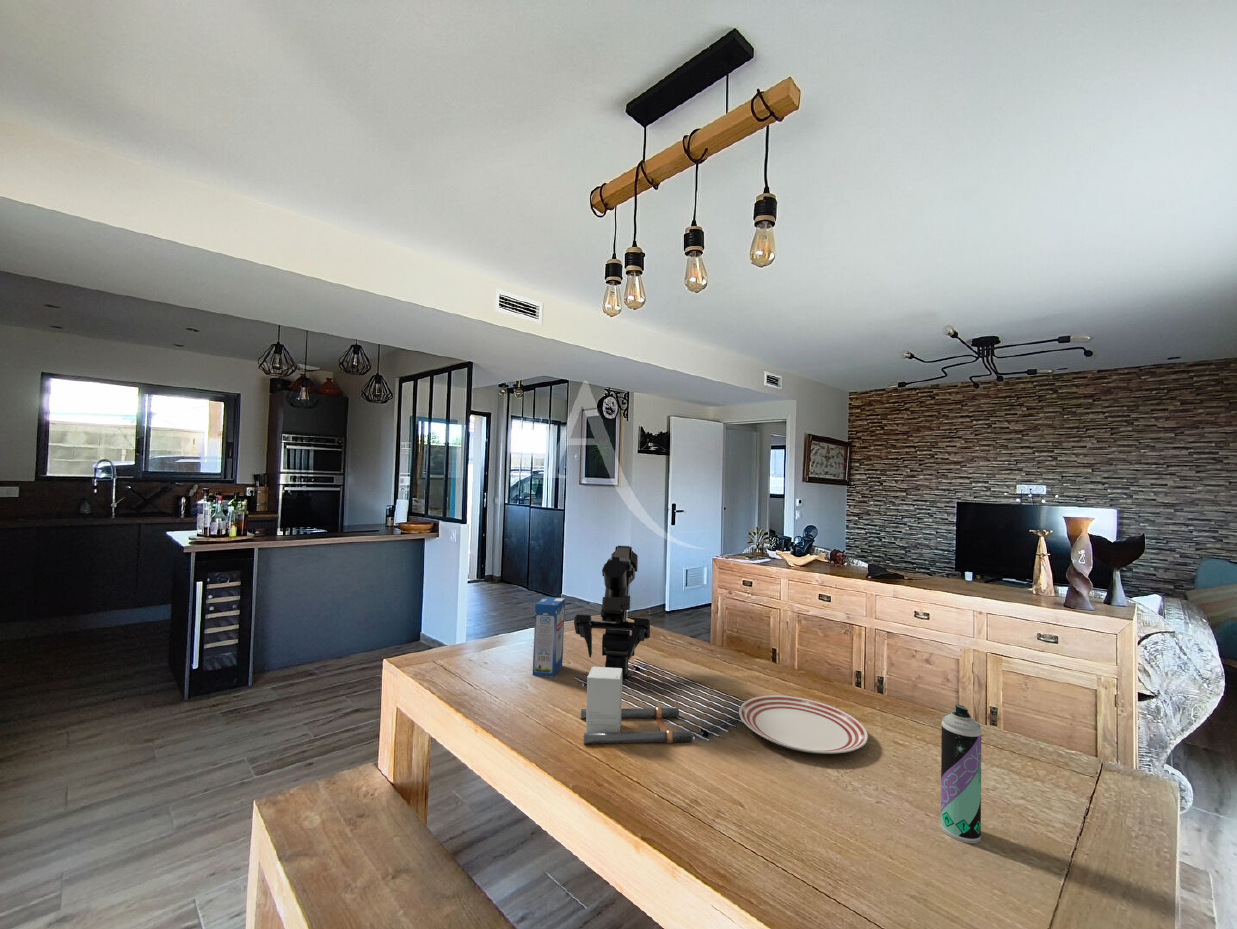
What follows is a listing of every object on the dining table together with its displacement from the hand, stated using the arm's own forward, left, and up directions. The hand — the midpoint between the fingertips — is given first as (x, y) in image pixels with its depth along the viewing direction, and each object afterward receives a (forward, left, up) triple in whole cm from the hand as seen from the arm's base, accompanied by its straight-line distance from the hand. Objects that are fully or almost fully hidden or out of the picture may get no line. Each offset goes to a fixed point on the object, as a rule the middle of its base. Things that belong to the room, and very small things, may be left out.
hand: (609, 657), depth 125 cm
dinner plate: (-25, +36, -14) cm, 46 cm away
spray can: (-9, +69, -14) cm, 71 cm away
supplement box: (+6, +4, -14) cm, 16 cm away
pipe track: (+1, +9, -13) cm, 16 cm away
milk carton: (-10, -33, -14) cm, 37 cm away
